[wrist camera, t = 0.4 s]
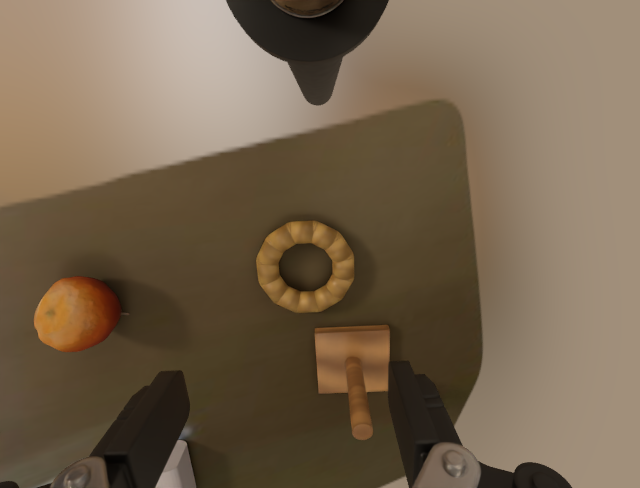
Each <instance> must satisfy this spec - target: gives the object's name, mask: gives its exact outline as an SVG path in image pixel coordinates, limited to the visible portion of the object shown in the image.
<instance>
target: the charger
mask: <svg viewBox="0 0 640 488" xmlns="http://www.w3.org/2000/svg"><path fill="white" fill-rule="evenodd" d="M155 488H197V487H196V483H195V478H194V474H193V469H192V465H191V461H190V456H189V452H188V447H187V443H186V442H185V441H183V440H177V442H176V445H175V447H174V449H173V451H172V453H171V455H170V457H169V459H168V462H167V464H166V466H165V468H164V470H163V472H162V474H161V476H160V479H159V481H158V483H157V485H156V487H155Z"/></svg>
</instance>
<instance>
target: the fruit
mask: <svg viewBox="0 0 640 488" xmlns="http://www.w3.org/2000/svg"><path fill="white" fill-rule="evenodd" d="M121 310H122V307H121V304H120V301H119V299H118V297H117V295H116V294H115V293H114V292H113V291H112V290H111V289H110V288H109V287H108V286H107V284H106V283H104V282H103V281H101V280H98V279H94V278H90V277H80V276H76V277H71V278H63V279H61V280H59V281H57V282H56V283H54V284H53V285H52V287H51V288H50V289H49V290H48V292H47V293H46V294H45V296H44V297H43V298H42V300H41V301H40V303H39V305H38V307H37V309H36V312H35V316H34V325H35V328H36V329H37V331H38V335H39V339H40V340H42V341H43V342H44V343H45V344H48V345H50V346H52V347H54V348H55V349H57V350H59V351H63V352H77V351H82V350H85V349H87V348H89V347H92V346H94V345H96V344H98V343H100V342H102V341H103V340H105V339H106V338H107V337H108V335H109V334H110V333H111V332H112V330H113V329H114V328H115V326H116V324H117V323H118V321H119V319H120V317H121V316H122V315H129V314H130V313H125V312H122V311H121Z"/></svg>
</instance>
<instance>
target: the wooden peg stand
mask: <svg viewBox="0 0 640 488" xmlns="http://www.w3.org/2000/svg"><path fill="white" fill-rule="evenodd" d="M315 345H316V360H317V374H318V389H319V394H323V393H347V392H348V397H349V407H350V417H351V426H352V434H353V436H354V437H355V438H356V439H359V440H366V439H368V438H370V437H371V436H372V434H373V428H372V422H371V416H370V410H369V405H368V399H367V393H366V392H371V391H388V363H389V358H390V329H389V326H388V325H373V326H351V327H329V328H315Z"/></svg>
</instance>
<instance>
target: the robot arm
mask: <svg viewBox="0 0 640 488" xmlns="http://www.w3.org/2000/svg"><path fill="white" fill-rule="evenodd" d="M270 1H271V3H272V4H273V5H274V6H275V7H276V8H278V9H279V10H280V11H282V12H283V13H285V14H287V15H289V16H291V17H294V18H297V19H303V20H312V19H318V18H321V17H324V16H326V15H328V14H330V13H332V12H333V11H335V10H336V9H337V8H338V7H339V6H340V5H341V4H342V3H343V2H344V1H345V0H270ZM388 401H389V408H390V413H391V417H392V421H393V425H394V429H395V433H396V437H397V441H398V445H399V449H400V453H401V457H402V461H403V465H404V469H405V473H406V477H407V481H408V485H409V488H572V487H571V485H570V484H569V483H568V482H567V481H566V480H565V479H564V478H563V477H562V476H561V475H560V474H558V473H557V472H556V471H554V470H553V469H551V468H549V467H547V466H545V465H541V464H538V463H532V462H527V463H522V464H520V465H519V466H518V467H517V468H516V469H515V472H514V473H512V472H508V471H505V470H501V469H497V468H493V467H490V466H487V465H485V464H483V463H481V462H479V461H477V459H476V457H475V456H474V455H473V454H472V453H471V452H470V451H469V450H468V449H466V448H465V447H463V445H462V443H461V441H460V439H459V437H458V435H457V433H456V430H455V428H454V426H453V424H452V422H451V419H450V417H449V415H448V413H447V411H446V408H445V407H444V404H443V402H442V400H441V398H440V395H439V393H438V391H437V389H436V386H435V384H434V383H433V382H432V381H431V380H430V379H429V378H428V377H427V376H426V375H425V374H418V375H414V373H413V370H412V368H411V365H410V363H409V361H391V362H389V363H388ZM189 410H190V402H189V397H188V393H187V388H186V384H185V379H184V375H183V372H182V371H180V370H179V371H161V372H159V373H158V375H157V376H156V377H155V379H154V380H153V382H152V383H151V385H150V386H144V387H143V388H142V389H141V390H140V391H138V392H137V393H136V394H135V395H133V396H132V398H131V399H130V400H129V402H128V403H127V404H126V406H125V407H124V410H122V411H121V413H120V414H119V415H118V417H117V420H115V421H114V422H113V424H112V425H111V427H110V428H109V429H108V431H107V432H106V433H105V435H104V436H103V438H102V439H101V440H100V442H99V443H98V445H97V446H96V447H95V449H94V450H93V451H92V453H91V454H90V456H89V457H86V458H83V459H80V460H78V461H76V462H74V463H72V464H71V465H69V466H68V467H66V468H65V469H64V470H63V471H62V472H61V473H59V475H58V476H57V477H56V478H55V479H54V481H53V482H52V483H50V484H47V485H44V486H41V487H37V488H155V487H156V485H157V483H158V481H159V479H160V476H161V474H162V472H163V470H164V468H165V466H166V464H167V462H168V459H169V457H170V455H171V453H172V451H173V449H174V447H175V445H176V442H177V440H178V438H179V436H180V434H181V432H182V430H183V428H184V426H185V423H186V421H187V419H188V416H189ZM0 488H19V487H18V485H17V483H15V482H12V481H6V482H1V483H0Z"/></svg>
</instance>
